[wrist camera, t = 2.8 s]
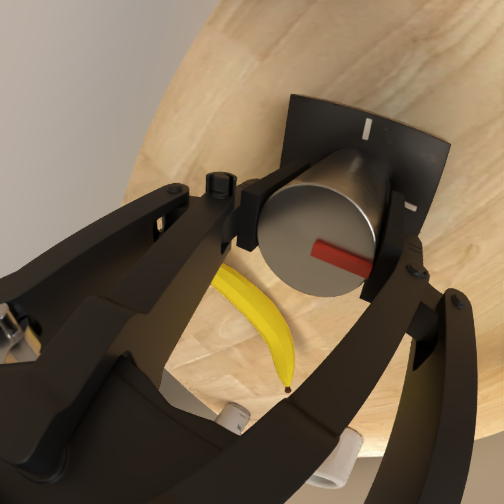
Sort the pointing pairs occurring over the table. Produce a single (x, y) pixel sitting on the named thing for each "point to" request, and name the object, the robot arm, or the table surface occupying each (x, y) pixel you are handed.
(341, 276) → the stove knob
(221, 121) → the table surface
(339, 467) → the mug
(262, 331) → the banana
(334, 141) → the stove panel
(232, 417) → the energy drink can
